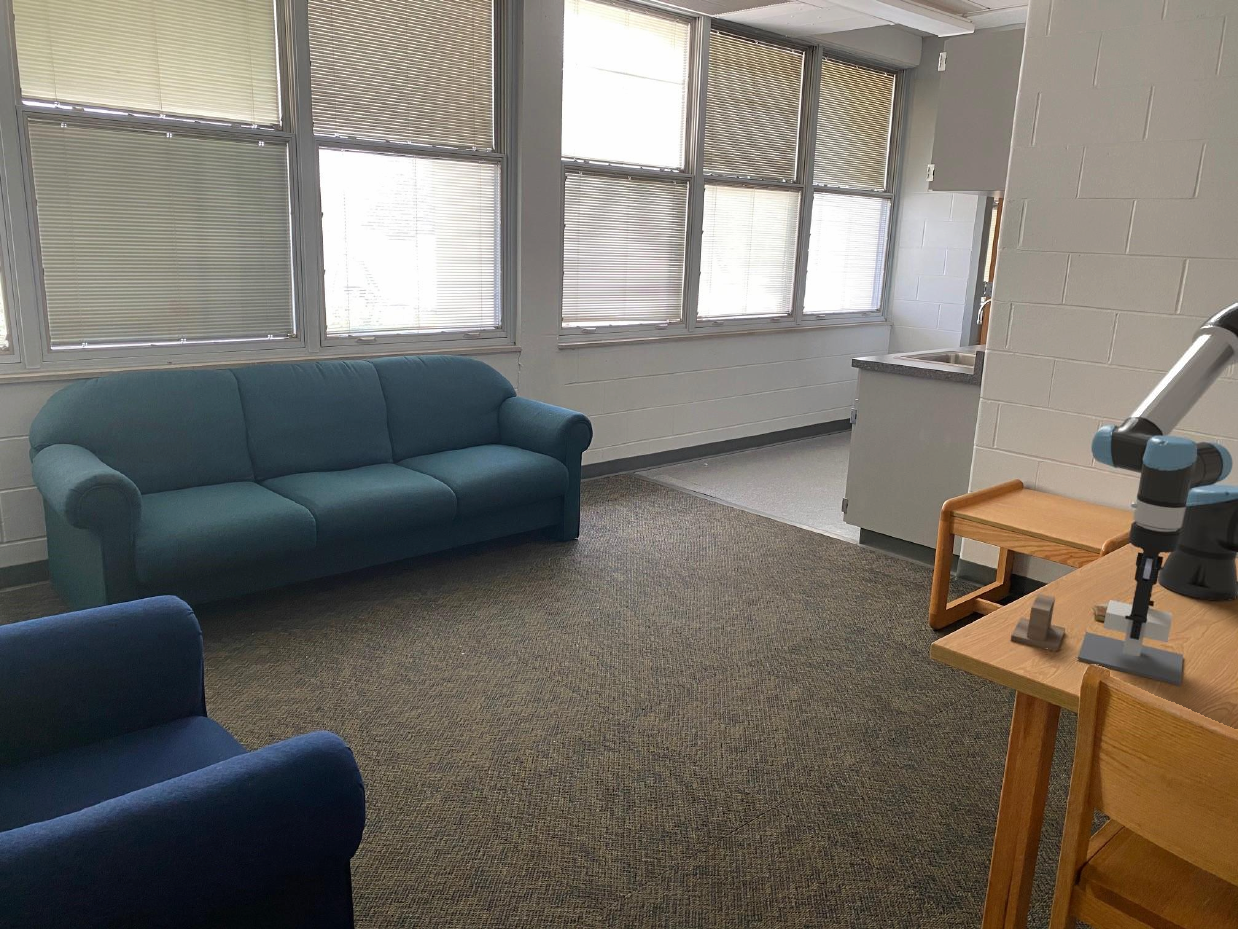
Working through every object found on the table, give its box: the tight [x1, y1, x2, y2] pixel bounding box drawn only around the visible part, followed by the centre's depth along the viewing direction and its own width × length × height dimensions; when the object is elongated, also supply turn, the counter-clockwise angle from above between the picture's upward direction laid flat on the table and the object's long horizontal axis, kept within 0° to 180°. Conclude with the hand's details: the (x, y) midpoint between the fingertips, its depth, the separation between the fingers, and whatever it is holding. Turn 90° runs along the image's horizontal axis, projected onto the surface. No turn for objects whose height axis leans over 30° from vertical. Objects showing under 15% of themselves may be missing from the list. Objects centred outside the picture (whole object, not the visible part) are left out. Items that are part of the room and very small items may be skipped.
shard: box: [1091, 605, 1108, 623], centre depth 183 cm, size 11×8×2 cm
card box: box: [1102, 599, 1173, 643], centre depth 166 cm, size 10×7×3 cm
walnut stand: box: [1010, 593, 1066, 652], centre depth 175 cm, size 10×8×7 cm
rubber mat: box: [1077, 631, 1184, 686], centre depth 168 cm, size 16×13×1 cm
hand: (1132, 646), depth 167 cm, fingers closed on card box, 7 cm apart
